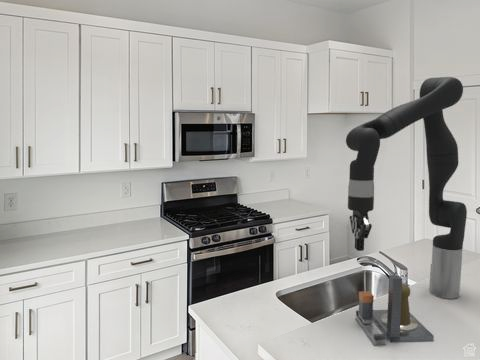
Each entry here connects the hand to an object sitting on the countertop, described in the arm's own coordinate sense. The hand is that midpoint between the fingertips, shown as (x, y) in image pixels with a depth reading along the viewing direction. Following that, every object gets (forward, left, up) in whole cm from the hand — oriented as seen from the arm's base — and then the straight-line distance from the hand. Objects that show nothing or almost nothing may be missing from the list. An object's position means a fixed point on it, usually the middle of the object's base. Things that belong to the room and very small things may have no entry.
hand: (359, 249), depth 118 cm
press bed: (+8, +10, -21) cm, 25 cm away
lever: (+7, 0, -19) cm, 20 cm away
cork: (+8, +10, -19) cm, 23 cm away
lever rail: (+10, 0, -21) cm, 23 cm away
